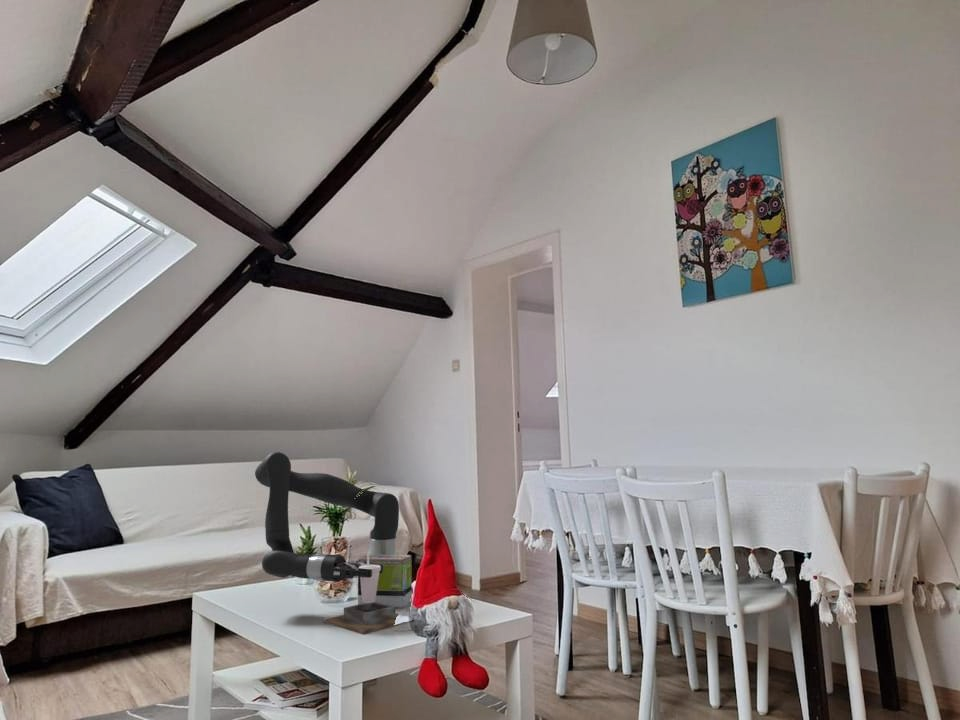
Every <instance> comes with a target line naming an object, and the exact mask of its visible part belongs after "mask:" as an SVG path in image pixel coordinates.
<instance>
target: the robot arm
mask: <svg viewBox="0 0 960 720" xmlns="http://www.w3.org/2000/svg"><path fill="white" fill-rule="evenodd" d="M254 475H255V478H256V481H257V482H258V483H259V484H260V485H263V486H264V487H266V488H269V496H268V501H267V508H266V512H265V521H264V524H265V525H264V528H265V543H266V544H267V546H269V548H271V551H270V552H268V553H266V554H265V555H264V556H263V558H262V561H261V566H262V569H263V571H264V572H265V573H266V574H268V575H269V576H270V575H271V576H274V577H276V578H282V579H283V578H284V579H285V578H288V577H289V576H291V577H295V578H297V579H298V578H299V579H308V580H309V579H310V580H314V581H321V582H331V583H333V582H334V583H339V582H341V581H342V580H343V579H350V580H352V579H354V578H355V579H358V577H366V578H370V577H372V570H371V569H361V568H360V569H359V566H362V565H367V562H363V561H358V560H356V561H354V560H349V561H348V562H347V561H346V558H345V557H344V556H343V555H341V554H328V553H318V554H316V553H315V554H314V553H313V554H312V553H296V552H295V551H294V547H293V545H292V542H291V538H290V524H289V523H290V522H289V492H290V493H291V492H292V493H295V494H298V495H301V496H305V497H308V498H312V499H315V500H318V501H320V502H324V503H328V504H331V505H335V506H340V507H345V508H351V509H355V510H358V511H361V512H363V513H366V514H368V515H369V516H372V517H373V518H374V525H373V527H372V529H371V530H370V532H369V555H397V553H396V552H397V551H396V550H397V548H396V546H397V544H396V543H397V532H398V530H399V529H398V528H399V521H400V520H399V519H400V518H399V517H400V516H399V515H400V505H399V500H398V498H397V497H396V495H395V494H392V493H389V492H382V491H381V492H378V491H372V490H368V489H363V488H360V487H358V486H356V485H355V484H353V483H352V482H349V481H347V480H345V479H343V478H341V477H338V476H335V475H333V474H329V473H323V472H313V473H312V472H311V473H310V472H309V473H307V472H306V473H304V472H297V471H293V470H292V464H291V461H290V458H289V457H288V456H287V455H286V454H284V453H283V452H280V451H277V452H276V451H275V452H272V453H269V454H268V455H267V456H266V457H265V458H264V459H263V460H262V461H261V462H260V463H259V464H258V466H257V467H256V468H255V471H254ZM362 490H364V491H362ZM361 491H362V492H363V493H362V494H360V493H359V492H361ZM358 493H359V495H360V496H358V495H357V494H358ZM356 495H357V496H358V497H356ZM354 498H356V499H354ZM369 565H374V564H373V562H369ZM379 566H381V570H380V572H379V573H383V565H379Z"/></svg>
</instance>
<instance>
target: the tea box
mask: <svg viewBox="0 0 960 720" xmlns="http://www.w3.org/2000/svg"><path fill="white" fill-rule="evenodd" d="M357 561H363V562H367V555H365V556H363V557H360V558H358V560H357ZM369 562H373V564H374V565H383V573H379V579H378V585H377V592H376V599H375V602H378V603H382V604H386V605H390V606H394V607H395V608H400V609H401V608H402V609H403V608H404V607H406V606H407V605H409V604H410V603H409V601H410V599H411V600H412V589H413V587H412V580H413V579H412V575H413V574H412V570H413V569H412V555H411V554H396V555H370V554H369ZM359 604H363V602H362V594H361V582H360V577H358V578H357V605H359Z"/></svg>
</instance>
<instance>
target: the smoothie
mask: <svg viewBox="0 0 960 720" xmlns="http://www.w3.org/2000/svg"><path fill="white" fill-rule="evenodd" d="M369 555H370V550H367V555H366V556H367V565H362V566H359V569H360V568H361V569H371V570H372V577H370V578H366V577H360V582H361V594H362V602H363V603H373V602H375V599H376V592H377V585H378V579H379V572H380V570H381V566H379V565H369Z"/></svg>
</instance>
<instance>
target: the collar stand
mask: <svg viewBox="0 0 960 720" xmlns="http://www.w3.org/2000/svg"><path fill="white" fill-rule="evenodd" d="M399 614H400V613H398V612H396V607H394V606H390V605H386V604H382V603H378V602H373V603H363V604H359V605H358V604H354V605H350V606H345V607H344V608H343V614H341V615H337V616H332V617H327V618H324V623H326V624H329V625H333V626H334V627H335V626H336V627H338V628H342V629H345V630H348V631H351V632H355V633H357V634H360V635H365V633H366V634H369V633H372V632H377V631H380V630H385V629H388V628H391V627H394V624H395V620H396V617H397V616H398V615H399Z"/></svg>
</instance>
